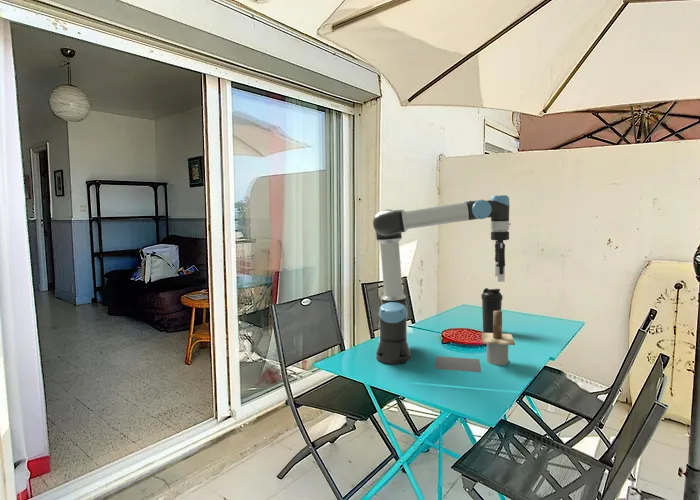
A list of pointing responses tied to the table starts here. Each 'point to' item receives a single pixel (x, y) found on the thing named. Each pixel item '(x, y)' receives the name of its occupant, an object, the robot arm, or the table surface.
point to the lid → (497, 332)
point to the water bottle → (490, 307)
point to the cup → (497, 354)
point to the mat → (457, 364)
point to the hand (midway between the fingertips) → (499, 278)
